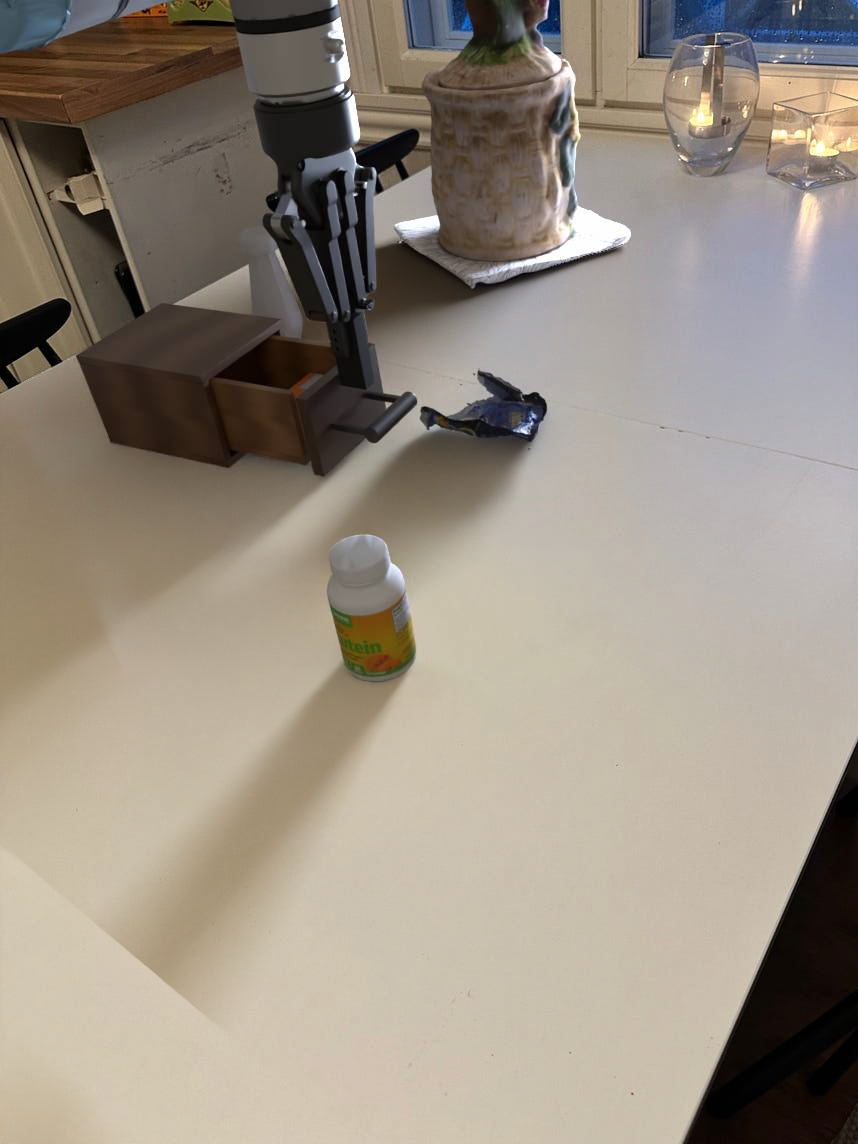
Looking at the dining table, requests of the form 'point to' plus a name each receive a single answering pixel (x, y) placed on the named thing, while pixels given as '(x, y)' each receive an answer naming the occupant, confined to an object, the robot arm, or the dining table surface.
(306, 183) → the robot arm
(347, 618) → the supplement bottle
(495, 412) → the snack package
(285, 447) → the drawer
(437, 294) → the dining table surface
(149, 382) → the cabinet
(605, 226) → the cookie jar
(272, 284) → the salt shaker
